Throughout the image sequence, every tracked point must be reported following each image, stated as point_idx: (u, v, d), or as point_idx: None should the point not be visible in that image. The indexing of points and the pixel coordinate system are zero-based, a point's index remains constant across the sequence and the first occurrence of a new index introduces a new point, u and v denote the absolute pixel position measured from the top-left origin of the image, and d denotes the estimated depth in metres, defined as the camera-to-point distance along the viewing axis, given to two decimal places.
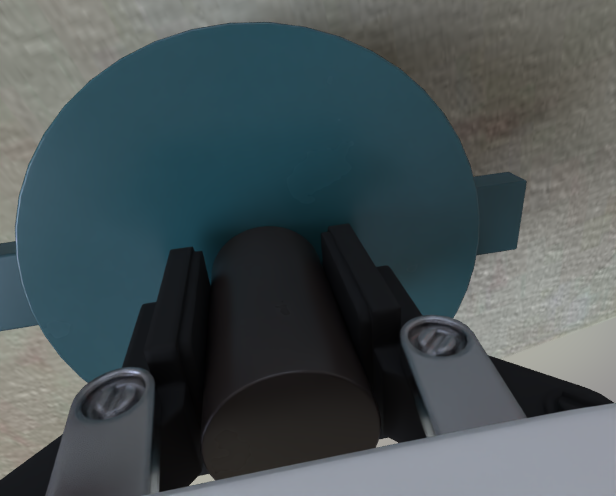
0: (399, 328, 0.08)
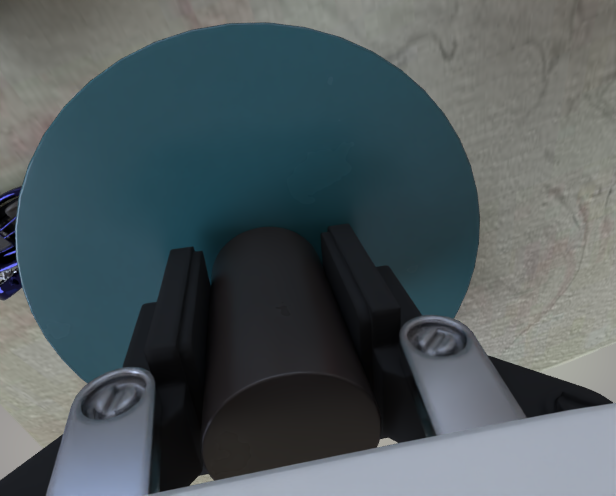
0: (399, 328, 0.08)
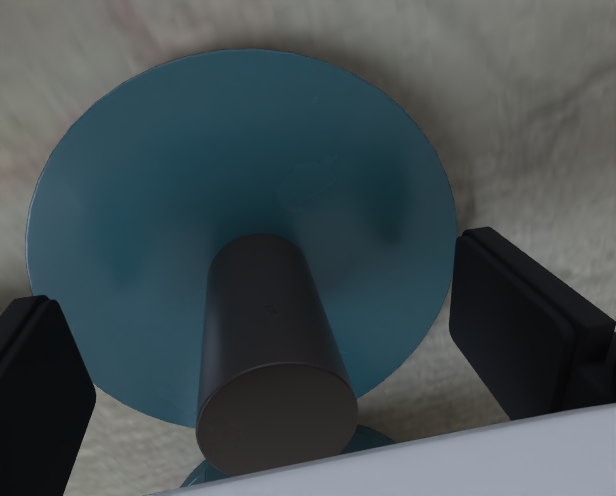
0: (608, 345, 0.07)
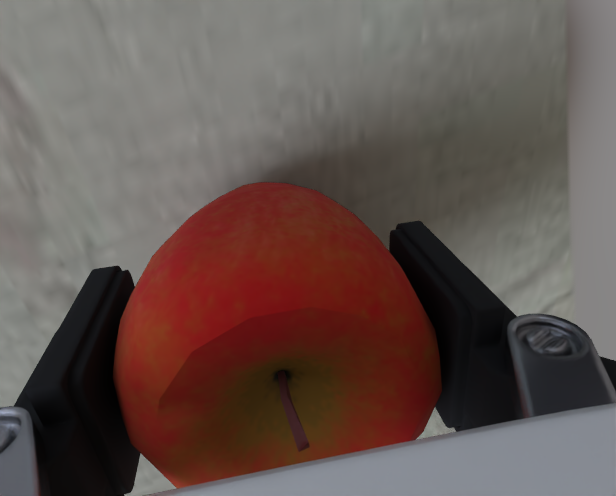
0: (500, 327, 0.07)
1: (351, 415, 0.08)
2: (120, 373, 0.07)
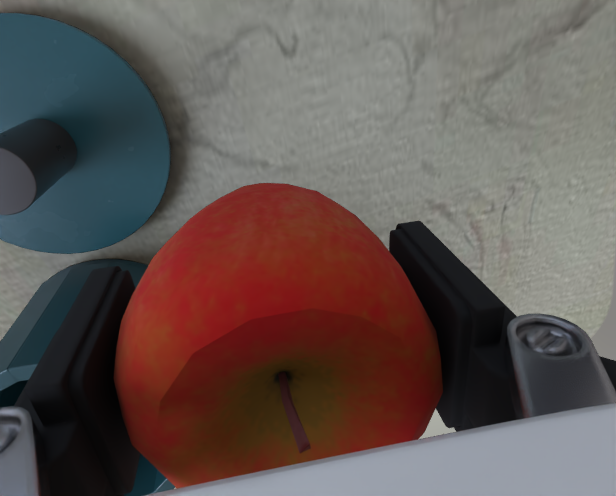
0: (500, 327, 0.07)
1: (353, 416, 0.08)
2: (121, 374, 0.07)
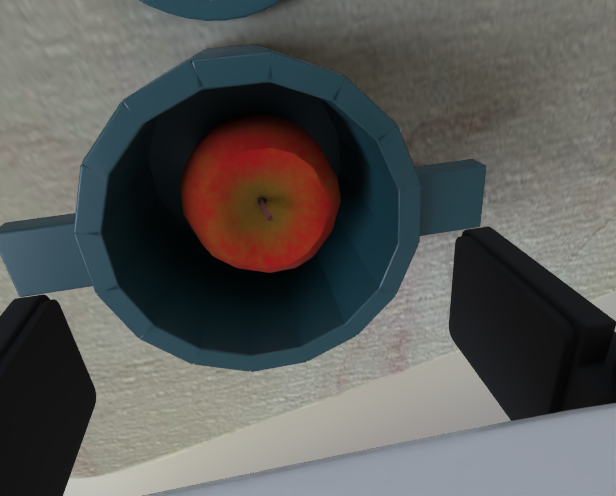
0: (608, 345, 0.07)
1: (295, 215, 0.17)
2: (187, 182, 0.16)
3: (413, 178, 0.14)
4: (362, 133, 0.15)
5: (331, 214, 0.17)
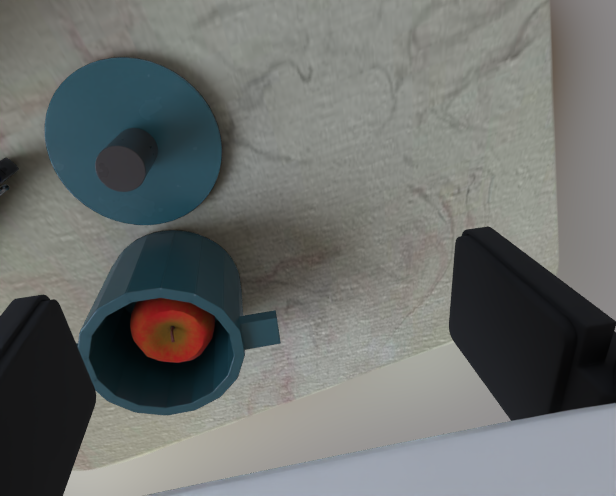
0: (608, 345, 0.07)
1: (188, 336, 0.33)
2: (132, 324, 0.32)
3: (235, 328, 0.31)
4: None
5: (206, 336, 0.33)
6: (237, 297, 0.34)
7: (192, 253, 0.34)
